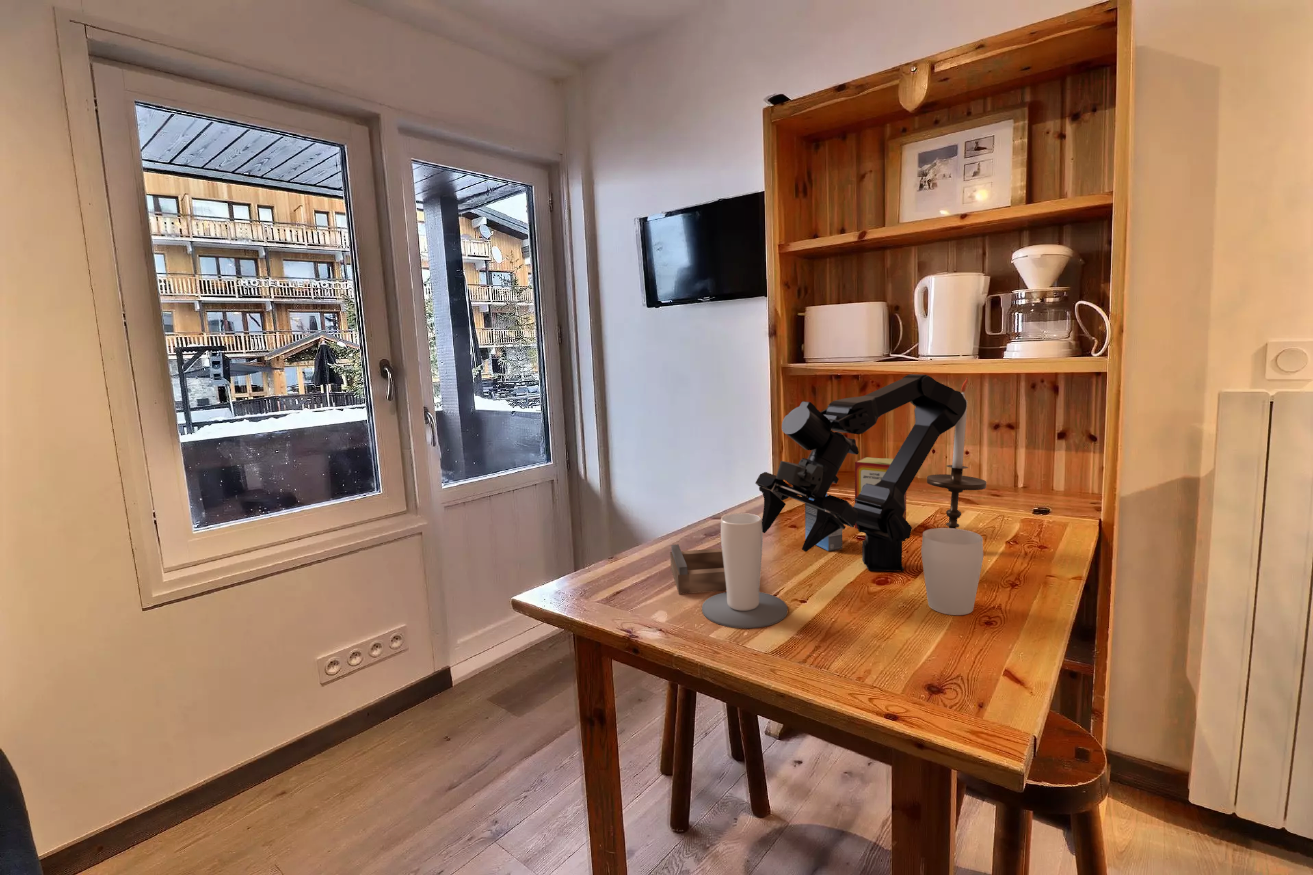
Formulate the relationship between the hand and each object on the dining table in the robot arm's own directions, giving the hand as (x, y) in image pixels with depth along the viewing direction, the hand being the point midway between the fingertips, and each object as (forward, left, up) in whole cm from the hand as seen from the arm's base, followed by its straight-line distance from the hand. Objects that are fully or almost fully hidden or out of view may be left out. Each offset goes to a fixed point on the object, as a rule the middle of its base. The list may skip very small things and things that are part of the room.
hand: (782, 541), depth 111 cm
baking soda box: (-23, -41, -10) cm, 48 cm away
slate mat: (+7, +7, -9) cm, 14 cm away
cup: (-26, +4, -10) cm, 29 cm away
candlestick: (-34, -25, -9) cm, 43 cm away
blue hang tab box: (-9, -28, -10) cm, 31 cm away
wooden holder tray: (+14, -7, -9) cm, 18 cm away
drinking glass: (+7, +7, -9) cm, 13 cm away
